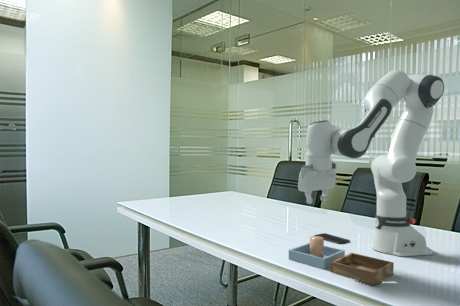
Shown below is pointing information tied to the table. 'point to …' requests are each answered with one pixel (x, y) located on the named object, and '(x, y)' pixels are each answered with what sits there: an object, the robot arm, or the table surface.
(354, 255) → the tray
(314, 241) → the orange-tan rounded cylinder
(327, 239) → the phone
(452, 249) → the table surface
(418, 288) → the table surface
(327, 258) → the bin
